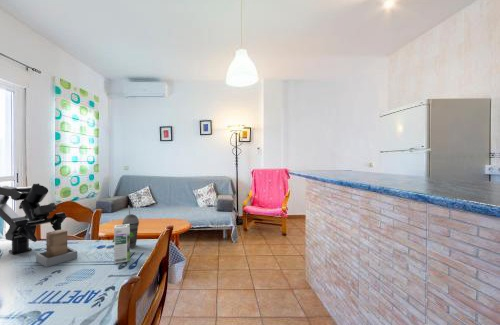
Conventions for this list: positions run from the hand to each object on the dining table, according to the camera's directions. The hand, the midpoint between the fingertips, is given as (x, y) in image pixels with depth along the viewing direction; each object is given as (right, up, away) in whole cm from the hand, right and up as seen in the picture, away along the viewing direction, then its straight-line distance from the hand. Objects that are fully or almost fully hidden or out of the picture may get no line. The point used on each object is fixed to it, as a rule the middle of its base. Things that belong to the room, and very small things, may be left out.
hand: (48, 237), depth 103 cm
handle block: (+5, -8, -2) cm, 9 cm away
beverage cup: (+28, -9, +14) cm, 32 cm away
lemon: (+28, -9, +7) cm, 30 cm away
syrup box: (+32, -9, -2) cm, 33 cm away
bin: (+5, -8, -2) cm, 10 cm away
